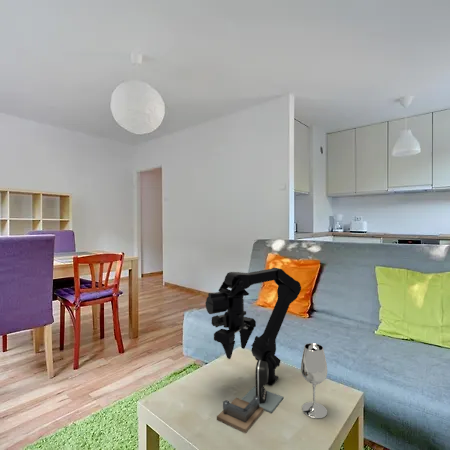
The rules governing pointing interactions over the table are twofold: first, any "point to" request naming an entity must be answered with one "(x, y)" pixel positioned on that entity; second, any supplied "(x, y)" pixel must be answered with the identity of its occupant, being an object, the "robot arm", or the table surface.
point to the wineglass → (314, 376)
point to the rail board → (238, 423)
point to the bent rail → (241, 409)
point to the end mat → (271, 400)
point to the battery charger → (261, 380)
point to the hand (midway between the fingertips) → (236, 353)
